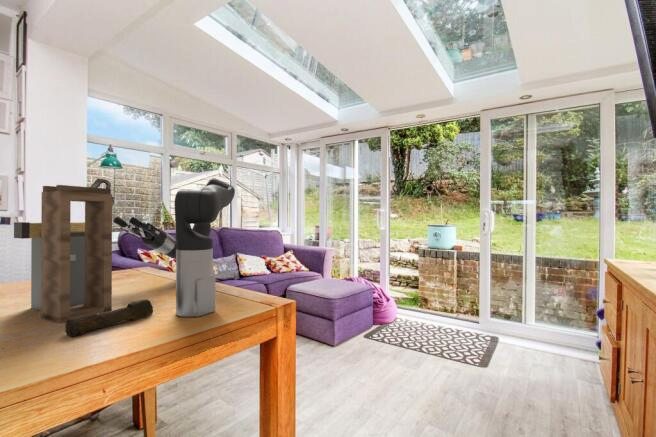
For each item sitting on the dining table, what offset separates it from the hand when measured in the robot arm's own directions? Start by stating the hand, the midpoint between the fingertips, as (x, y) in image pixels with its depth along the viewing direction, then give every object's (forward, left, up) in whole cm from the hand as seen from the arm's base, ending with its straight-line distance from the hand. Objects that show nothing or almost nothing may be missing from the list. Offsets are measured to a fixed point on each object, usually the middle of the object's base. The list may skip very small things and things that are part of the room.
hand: (122, 219), depth 111 cm
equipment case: (0, +18, -25) cm, 31 cm away
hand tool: (-30, +21, -25) cm, 45 cm away
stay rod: (0, +16, -5) cm, 17 cm away
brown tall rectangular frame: (-14, +21, -25) cm, 35 cm away
